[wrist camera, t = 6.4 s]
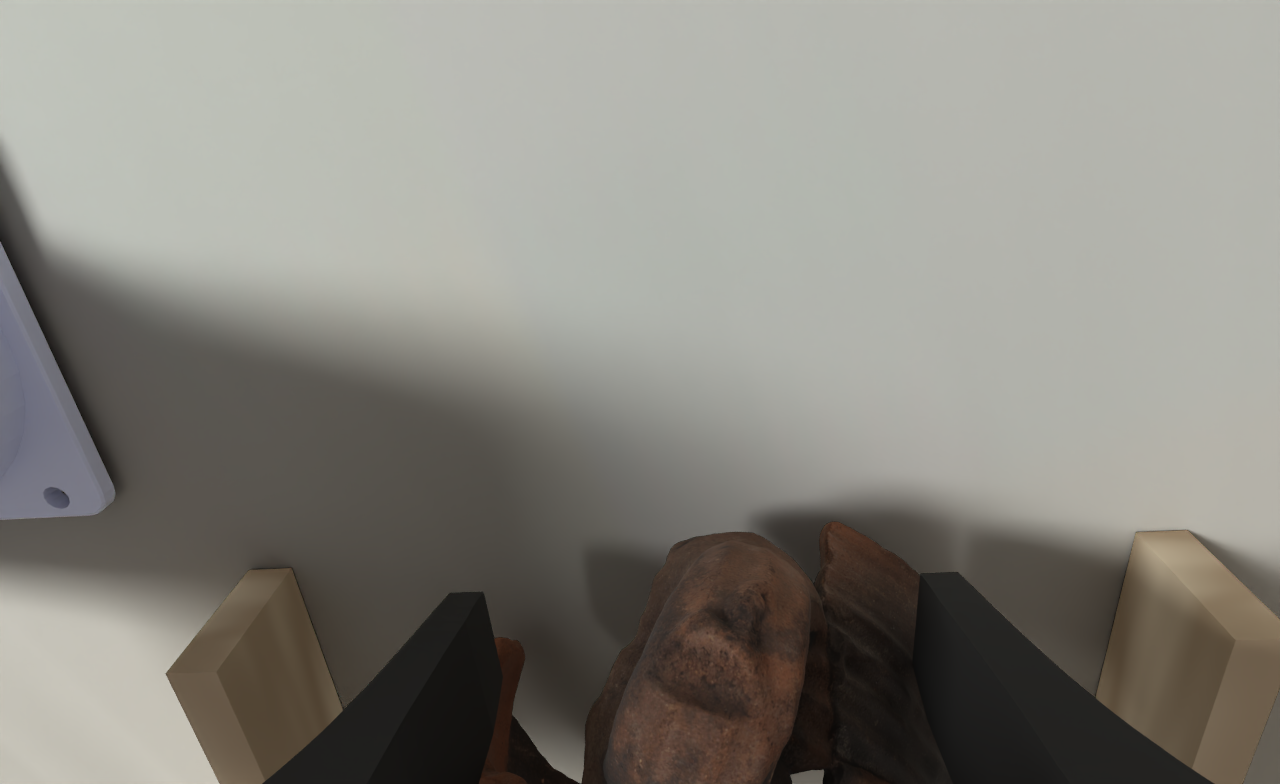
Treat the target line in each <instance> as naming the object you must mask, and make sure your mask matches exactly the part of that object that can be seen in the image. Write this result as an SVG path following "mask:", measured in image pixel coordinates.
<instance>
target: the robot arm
mask: <svg viewBox="0 0 1280 784" xmlns="http://www.w3.org/2000/svg"><path fill="white" fill-rule="evenodd" d="M61 490H62V491H64V492H65V493H66V495H65V494H64V493H62V491H61ZM114 498H115V489H114V486H113V484H112V481H111V479H110V477H109V475H108V473H107V471H106V468H105V466H104V464H103V462H102V460H101V458H100V456H99V453H98V451H97V449H96V447H95V445H94V443H93V440H92V438H91V436H90V434H89V432H88V430H87V427H86V425H85V423H84V421H83V419H82V417H81V415H80V412H79V410H78V408H77V406H76V404H75V402H74V399H73V397H72V395H71V393H70V391H69V389H68V387H67V384H66V382H65V380H64V378H63V376H62V374H61V371H60V369H59V367H58V365H57V363H56V361H55V358H54V356H53V354H52V352H51V350H50V348H49V346H48V343H47V341H46V339H45V337H44V335H43V333H42V330H41V328H40V326H39V324H38V322H37V320H36V317H35V315H34V313H33V311H32V309H31V307H30V305H29V302H28V300H27V298H26V296H25V294H24V292H23V289H22V287H21V285H20V283H19V281H18V279H17V277H16V274H15V272H14V270H13V268H12V266H11V264H10V261H9V259H8V257H7V255H6V253H5V251H4V248H3V246H2V244H1V242H0V520H11V519H31V518H51V517H72V516H91V515H95V514H99V513H100V512H101V511H102V510H104V509H105V508H106V507H107V506H108V505H110V504H111V503H112V502H113V501H114ZM912 662H913V669H914V673H915V677H916V680H917V684H918V688H919V692H920V695H921V699H922V702H923V706H924V709H925V713H926V716H927V720H928V723H929V725H930V728H931V731H932V733H933V736H934V738H935V741H936V743H937V746H938V748H939V751H940V753H941V755H942V758H943V760H944V763H945V765H946V768H947V770H948V773H949V775H950V778H951V780H952V782H953V784H1214V783H1213V782H1211V781H1210V780H1208V779H1206V778H1205V777H1203V776H1202V775H1200V774H1199V773H1197V772H1196V771H1194V770H1193V769H1191V768H1190V767H1188V766H1187V765H1185V764H1184V763H1182V762H1181V761H1179V760H1178V759H1176V758H1175V757H1174V756H1172V755H1171V754H1169V753H1168V752H1167V751H1165V750H1164V749H1163V748H1161V747H1160V746H1158V745H1157V744H1156V743H1154V742H1153V741H1151V740H1150V739H1149V738H1147V737H1146V736H1144V735H1143V734H1142V733H1140V732H1139V731H1137V730H1136V729H1135V728H1133V727H1132V726H1131V725H1129V724H1128V723H1127V722H1125V721H1124V720H1123V719H1121V718H1120V717H1119V716H1117V715H1116V714H1115V713H1113V712H1112V711H1111V710H1110V709H1108V708H1107V707H1106V706H1105V705H1103V704H1102V703H1101V702H1100V701H1099V700H1097V699H1096V698H1095V697H1094V696H1092V695H1091V694H1090V693H1089V692H1087V691H1086V690H1085V689H1084V688H1082V687H1081V686H1080V685H1079V684H1078V683H1077V682H1075V681H1074V680H1073V679H1072V678H1071V677H1070V676H1068V675H1067V674H1066V673H1065V672H1064V671H1063V670H1061V669H1060V668H1059V667H1058V666H1057V665H1056V664H1055V663H1054V662H1052V661H1051V660H1050V659H1049V658H1048V657H1047V656H1046V655H1045V654H1044V653H1042V652H1041V651H1040V650H1039V649H1038V648H1037V647H1036V646H1035V645H1034V644H1032V643H1031V642H1030V641H1029V640H1028V639H1027V638H1026V637H1025V636H1024V635H1023V634H1022V633H1021V632H1019V631H1018V630H1017V629H1016V628H1015V627H1014V626H1013V625H1012V624H1011V623H1010V622H1009V621H1008V620H1007V619H1006V618H1005V617H1004V616H1003V615H1002V614H1001V613H1000V612H998V611H997V610H996V609H995V608H994V607H993V606H992V605H991V604H990V603H989V602H988V601H987V600H986V599H985V598H984V597H983V596H982V595H981V594H980V593H979V592H978V591H977V590H976V589H975V588H974V587H973V586H972V585H971V584H970V583H969V582H968V581H967V580H965V579H964V578H963V577H962V576H961V575H960V574H959V573H958V572H946V573H922V574H920V581H919V592H918V603H917V615H916V626H915V637H914V648H913V660H912ZM502 681H503V674H502V670H501V666H500V661H499V657H498V653H497V648H496V644H495V640H494V635H493V631H492V627H491V623H490V618H489V614H488V610H487V605H486V601H485V597H484V593H483V592H461V593H450V594H449V595H448V596H447V597H446V598H445V599H444V600H443V601H442V602H441V603H440V605H439V606H438V607H437V608H436V609H435V610H434V611H433V612H432V614H431V615H430V616H429V617H428V618H427V619H426V621H425V622H424V623H423V624H422V625H421V626H420V627H419V629H418V630H417V631H416V632H415V633H414V634H413V636H412V637H411V638H410V639H409V640H408V641H407V642H406V644H405V645H404V646H403V647H402V648H401V649H400V650H399V652H398V653H397V654H396V655H395V656H394V657H393V658H392V659H391V660H390V661H389V663H388V664H387V665H386V666H385V667H384V668H383V669H382V670H381V671H380V672H379V674H378V675H377V676H376V677H375V678H374V679H373V680H372V681H371V682H370V683H369V684H368V686H367V687H366V688H365V689H364V690H363V691H362V692H361V693H360V694H359V695H358V696H357V697H356V698H355V699H354V700H353V701H352V702H351V703H350V704H349V705H348V706H347V707H346V708H345V709H344V710H343V711H342V712H341V713H340V714H339V715H338V716H337V717H336V718H335V719H334V720H333V721H332V722H331V723H330V724H329V725H328V726H327V727H326V728H325V729H324V730H323V731H322V732H321V733H320V734H319V735H318V736H317V737H315V738H314V739H313V740H312V741H311V742H310V743H309V744H308V745H307V746H306V747H304V748H303V749H302V750H301V751H300V752H299V753H298V754H296V755H295V756H294V757H293V758H292V759H291V760H290V761H288V762H287V763H286V764H285V765H284V766H283V767H281V768H280V769H279V770H278V771H277V772H276V773H274V774H273V775H272V776H271V777H270V778H268V779H267V780H266V781H265V782H263V783H262V784H479V781H480V778H481V775H482V771H483V768H484V764H485V761H486V758H487V754H488V751H489V747H490V744H491V740H492V737H493V733H494V728H495V722H496V717H497V711H498V706H499V699H500V693H501V687H502Z"/></svg>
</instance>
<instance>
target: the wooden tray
mask: <svg viewBox="0 0 1280 784" xmlns="http://www.w3.org/2000/svg"><path fill="white" fill-rule="evenodd" d="M166 676H167V678H168V680H169V682H170V684H171V686H172V688H173V690H174V692H175V694H176V696H177V698H178V700H179V702H180V704H181V706H182V708H183V710H184V712H185V714H186V716H187V718H188V720H189V722H190V724H191V726H192V728H193V730H194V733H195V735H196V737H197V739H198V741H199V743H200V745H201V747H202V749H203V751H204V753H205V755H206V757H207V759H208V761H209V763H210V765H211V767H212V769H213V771H214V773H215V775H216V777H217V779H218V781H219V783H220V784H262V783H263V782H265V781H266V780H267V779H268V778H270V777H271V776H272V775H273V774H274V773H276V772H277V771H278V770H279V769H280V768H281V767H283V766H284V765H285V764H286V763H287V762H288V761H290V760H291V759H292V758H293V757H294V756H295V755H296V754H298V753H299V752H300V751H301V750H302V749H303V748H304V747H306V746H307V745H308V744H309V743H310V742H311V741H312V740H313V739H314V738H315V737H317V736H318V735H319V734H320V733H321V732H322V731H323V730H324V729H325V728H326V727H327V726H328V725H329V724H330V723H331V722H332V721H333V720H334V719H335V718H336V717H337V716H338V715H339V714H340V713H341V712H342V711H343V709H342V706H341V703H340V701H339V698H338V695H337V692H336V690H335V687H334V684H333V681H332V679H331V676H330V673H329V670H328V667H327V665H326V662H325V659H324V656H323V654H322V651H321V648H320V645H319V643H318V640H317V637H316V634H315V632H314V629H313V626H312V623H311V621H310V618H309V615H308V612H307V609H306V607H305V604H304V601H303V598H302V596H301V593H300V590H299V587H298V585H297V582H296V579H295V576H294V574H293V571H292V568H282V569H259V570H248V572H247V573H246V574H245V575H244V577H243V578H242V579H241V580H240V582H239V583H238V584H237V585H236V587H235V588H234V589H233V590H232V591H231V593H230V594H229V595H228V596H227V598H226V599H225V600H224V601H223V603H222V604H221V605H220V606H219V608H218V609H217V610H216V611H215V613H214V614H213V615H212V616H211V618H210V619H209V620H208V621H207V623H206V624H205V625H204V626H203V628H202V629H201V630H200V631H199V633H198V634H197V635H196V636H195V638H194V639H193V640H192V641H191V643H190V644H189V645H188V646H187V648H186V649H185V650H184V651H183V653H182V654H181V655H180V656H179V658H178V659H177V660H176V661H175V663H174V664H173V665H172V666H171V668H170V669H169V670H168V671H167V673H166ZM1279 689H1280V619H1279V618H1278V617H1277V616H1276V615H1275V614H1274V613H1273V612H1272V611H1270V610H1269V609H1268V608H1267V607H1266V606H1265V605H1264V604H1263V603H1262V602H1261V601H1260V600H1259V599H1258V598H1257V597H1256V596H1255V595H1254V594H1253V593H1252V592H1251V591H1250V590H1249V589H1248V588H1247V587H1246V586H1245V585H1244V584H1243V583H1242V582H1241V581H1239V580H1238V579H1237V578H1236V577H1235V576H1234V575H1233V574H1232V573H1231V572H1230V571H1229V570H1228V569H1227V568H1226V567H1225V566H1224V565H1223V564H1222V563H1221V562H1220V561H1219V560H1218V559H1217V558H1216V557H1215V556H1214V555H1213V554H1212V553H1211V552H1209V551H1208V550H1207V549H1206V548H1205V547H1204V546H1203V545H1202V544H1201V543H1200V542H1199V541H1198V540H1197V539H1196V538H1195V537H1194V536H1193V535H1192V534H1191V533H1190V532H1189V531H1188V530H1179V531H1156V532H1136V534H1135V538H1134V542H1133V546H1132V550H1131V554H1130V559H1129V563H1128V567H1127V571H1126V575H1125V579H1124V583H1123V587H1122V591H1121V595H1120V599H1119V603H1118V608H1117V612H1116V616H1115V620H1114V624H1113V628H1112V632H1111V636H1110V640H1109V644H1108V648H1107V653H1106V657H1105V661H1104V665H1103V669H1102V673H1101V677H1100V681H1099V685H1098V689H1097V693H1096V699H1097V700H1099V701H1100V702H1101V703H1102V704H1103V705H1105V706H1106V707H1107V708H1108V709H1110V710H1111V711H1112V712H1113V713H1115V714H1116V715H1117V716H1119V717H1120V718H1121V719H1123V720H1124V721H1125V722H1127V723H1128V724H1129V725H1131V726H1132V727H1133V728H1135V729H1136V730H1137V731H1139V732H1140V733H1142V734H1143V735H1144V736H1146V737H1147V738H1149V739H1150V740H1151V741H1153V742H1154V743H1156V744H1157V745H1158V746H1160V747H1161V748H1163V749H1164V750H1165V751H1167V752H1168V753H1169V754H1171V755H1172V756H1174V757H1175V758H1176V759H1178V760H1179V761H1181V762H1182V763H1184V764H1185V765H1187V766H1188V767H1190V768H1191V769H1193V770H1194V771H1196V772H1197V773H1199V774H1200V775H1202V776H1203V777H1205V778H1206V779H1208V780H1210V781H1211V782H1213V783H1214V784H1243V782H1244V779H1245V776H1246V774H1247V771H1248V769H1249V766H1250V764H1251V761H1252V758H1253V756H1254V753H1255V751H1256V748H1257V746H1258V743H1259V740H1260V738H1261V735H1262V733H1263V730H1264V728H1265V725H1266V722H1267V720H1268V717H1269V715H1270V712H1271V710H1272V707H1273V704H1274V702H1275V699H1276V697H1277V694H1278V692H1279Z"/></svg>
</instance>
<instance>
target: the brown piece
mask: <svg viewBox="0 0 1280 784" xmlns="http://www.w3.org/2000/svg"><path fill="white" fill-rule="evenodd" d="M819 547H820V571H819V573H818V575H817V578H816V580H815V583H814V585H813V583H812V582H811V580H810V579H809V578H808V576H807V575H806V573H805V572H804V571H803V570H802V569H801V568H800V566H799V565H798V564H797V563H796V562H795V561H794V560H793V559H792V558H791V557H790V556H789V555H788V554H787V553H785V552H784V551H782V550H781V549H780V548H778V547H777V546H775V545H774V544H772V543H771V542H769V541H768V540H766V539H765V538H763V537H761V536H759V535H757V534H755V533H749V532H726V533H719V534H711V535H706V536H698V537H693V538H691V539H688V540H685V541H681V542H678V543H677V544H675V545H674V546H673V547H672V548H671V550H670V552H669V554H668V556H667V560H666V563H665V565H664V566H663V568H662V569H661V570H660V571H659V572H658V573H657V575H656V576H655V578H654V580H653V583H652V587H651V591H650V595H649V598H648V603H647V606H646V609H645V611H644V613H643V614H642V616H641V618H640V622H639V627H638V631H637V634H636V637H635V638H634V640H633V641H632V642H631V643H630V644H629V645H628V646H627V647H625V648H624V649H622V651H621V652H620V654H619V656H618V658H617V660H616V661H615V663H614V665H613V667H612V670H611V672H610V675H609V678H608V680H607V682H606V685H605V687H604V689H603V691H602V694H601V696H600V697H599V698H598V699H597V700H596V702H595V703H594V704H593V706H592V708H591V710H590V712H589V715H588V718H587V721H586V725H585V753H584V772H583V778H582V784H792V780H791V777H790V775H791V774H795V773H799V772H804V771H809V770H823V769H824V777H823V784H953V782H952V780H951V778H950V775H949V773H948V770H947V768H946V765H945V763H944V760H943V758H942V755H941V753H940V751H939V748H938V746H937V743H936V741H935V738H934V736H933V733H932V731H931V728H930V725H929V723H928V720H927V716H926V713H925V709H924V706H923V702H922V699H921V695H920V692H919V688H918V684H917V680H916V677H915V673H914V669H913V662H912V660H913V648H914V637H915V626H916V615H917V603H918V592H919V581H920V575H919V574H918V573H917V572H916V571H915V570H913V569H912V568H910V566H909V565H908V564H907V563H906V562H905V561H904V560H902V559H901V558H900V557H898V556H896V555H895V554H894V553H892V552H890V551H888V550H886V549H884V548H882V547H881V546H880V545H879V544H877V543H876V542H874V541H873V540H871V539H870V538H868V537H866V536H865V535H863V534H861V533H859V532H857V531H855V530H853V529H852V528H850V527H847V526H845V525H844V524H842V523H839V522H830V523H827V524H826V525H825V526H824V527H823V529H822V531H821V533H820V539H819ZM494 640H495V644H496V648H497V653H498V657H499V661H500V666H501V670H502V674H503V681H502V687H501V693H500V699H499V706H498V711H497V717H496V722H495V728H494V733H493V737H492V740H491V744H490V747H489V751H488V754H487V758H486V761H485V764H484V768H483V771H482V775H481V778H480V781H479V784H580V783H578V782H576V781H574V780H573V779H570V778H568V777H567V776H566V775H564V774H563V773H561V772H559V771H557V770H555V769H554V768H553V767H552V766H551V765H550V764H549V763H548V762H547V760H546V759H545V758H544V757H543V756H542V755H541V754H540V753H539V751H538V750H537V748H536V746H535V745H534V744H533V742H532V741H531V739H530V737H529V736H528V735H527V733H526V732H525V731H524V730H523V729H522V727H521V726H520V724H519V723H518V721H517V719H516V718H515V717H514V716H512V709H513V702H514V698H515V693H516V690H517V686H518V682H519V679H520V675H521V671H522V668H523V665H524V661H525V653H524V650H523V647H522V645H521V644H520V642H519V641H517V640H513V641H512V640H510V639H509V638H503V637H498V638H495V639H494Z"/></svg>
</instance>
